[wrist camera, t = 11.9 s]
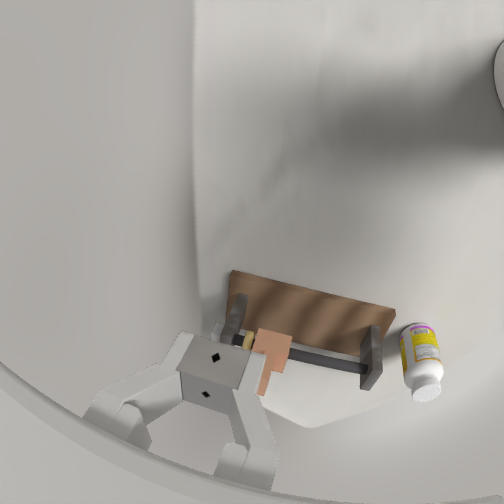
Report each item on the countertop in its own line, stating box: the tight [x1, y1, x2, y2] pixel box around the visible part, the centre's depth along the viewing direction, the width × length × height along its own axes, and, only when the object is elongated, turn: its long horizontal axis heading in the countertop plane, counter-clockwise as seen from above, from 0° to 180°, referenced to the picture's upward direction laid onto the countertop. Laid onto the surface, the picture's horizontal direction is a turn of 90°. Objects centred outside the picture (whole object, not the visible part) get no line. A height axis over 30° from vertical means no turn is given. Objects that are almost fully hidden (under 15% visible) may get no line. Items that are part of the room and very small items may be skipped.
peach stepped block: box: [252, 328, 292, 396], centre depth 42 cm, size 5×4×9 cm
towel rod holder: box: [220, 270, 396, 391], centre depth 47 cm, size 27×11×11 cm, turn 82°
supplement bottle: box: [399, 323, 443, 402], centre depth 43 cm, size 7×7×13 cm
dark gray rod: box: [211, 322, 368, 375], centre depth 44 cm, size 24×4×4 cm, turn 82°
